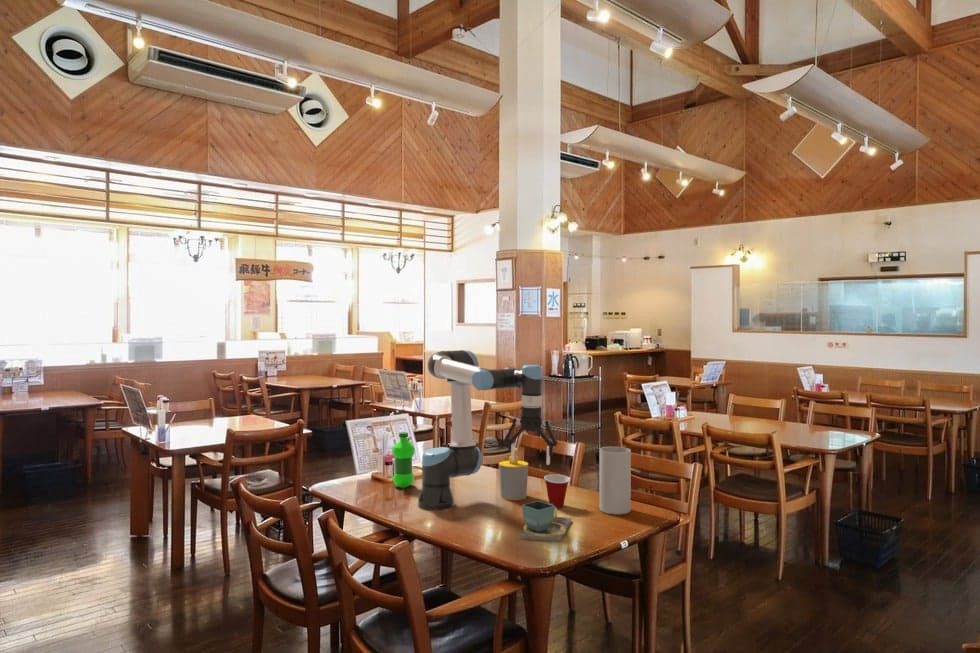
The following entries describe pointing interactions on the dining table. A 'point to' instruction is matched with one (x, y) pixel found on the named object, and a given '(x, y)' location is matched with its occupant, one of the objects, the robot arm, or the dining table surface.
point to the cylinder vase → (615, 480)
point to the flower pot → (538, 515)
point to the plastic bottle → (403, 461)
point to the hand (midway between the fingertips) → (530, 462)
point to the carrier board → (549, 530)
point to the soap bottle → (513, 479)
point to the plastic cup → (556, 489)
